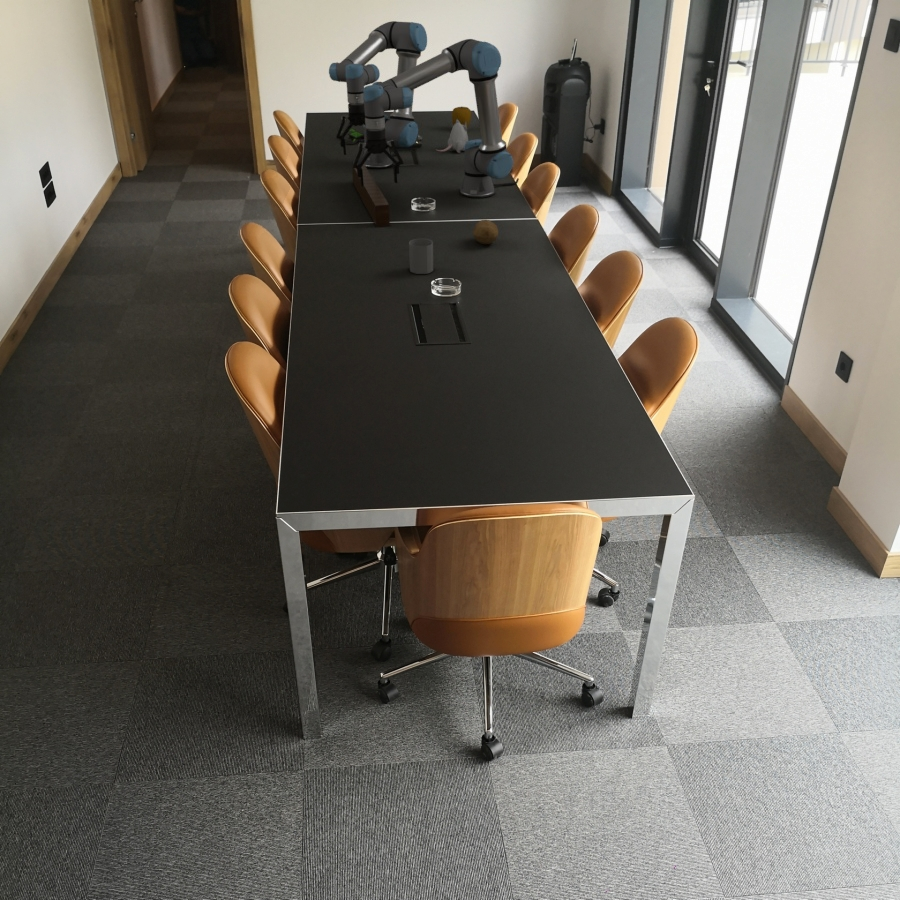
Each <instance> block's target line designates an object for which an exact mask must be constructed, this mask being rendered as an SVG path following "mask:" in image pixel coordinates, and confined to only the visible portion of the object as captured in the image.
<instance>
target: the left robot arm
mask: <svg viewBox="0 0 900 900" xmlns="http://www.w3.org/2000/svg"><path fill="white" fill-rule="evenodd" d="M427 46H428V34H427V31H426V28H425V27H424V25H423V24H422V23H419V22H413V21H396V20H393V21H387V22H385V23H382V24H380V25H379V26H377V27H376V28H374V29H373V30H372V31H371V32H370V33H369V34H368V37H367V38H366V40H364V41H363V42H362V43H361V44H359V46H357V47H356V48H355V49H354V50H353V51H351V52H350V53H349V54H348V55H347V56H346V57H345V58H344V59H343V60H341V62H338V61H337V62H332V63H331V64H330V65H329V68H328V75H329V78H330V80H332V81H334V82H338V83H346V95H347V96H346V97H347V103H348V104H347V109H348V111H347V113H348V114H347V115H344V114H342V115H341V119H340V123H339V125H338V128H337V131H336V134H335V138H336V139H338V140H339V139H340V140H339V142H340V147H341V148H342V151H343V156H347V148H346V147H347V146H346V143H345V141H346V139H345V137H346V136H347V135H348V134H349V132H350V131H349V130H350V129H352V127H358V126H360V127H361V126H363V134H364V139H363V140H364V142H363V143H366V141H367V139H366V130H367V128H366V124H365V109H364V100H363V98H364V97H363V93H364V88H365V87H366V86H369V85H372V84H373V83H375V82H378V80H379V78H380V77H381V76H380V69H379V67H378V66H377V65H376V64H374V63H369V62H370V61H371V60H372V59H373V58H374V57H376V55H377V54H378V53H383V52H385V51H386V50H393V49H394V50H395V54H396V55H397V58H398V61H397V71H396V76H397V75H399V74H401V73H403V72H405V71H407V70H409V69H411V68H413V67H415V66H417V65H418V64H417V63H418V59H419V58H421V56H422V55H421V54H422V52H424V51H425V50H426V49H427ZM411 92H412V95H413V96H414V93H415V89H414V90H412V91H411ZM413 105H414V103H413V104H412V106H411V107H409V108H405V109H398V110H393V112H392V113H390V115H389V117H388V115H387V114H384V115H385V117H384V118H385V128H384V129H385V133H386V141H390V140H393V141H394V144H395V147H400V148H410V147H412V146H413V145H414V144H415V143H416V141H417V138H418V134H419V127H418V123H417V122H415V117H414V115H413ZM347 121H349V122H348V124H347V125H346V127H345V128H344V126H345V123H346V122H347ZM343 128H344V131H343ZM341 131H343V132H341ZM385 149H386V150H387V151H388V152H389V153H390V154H391V152H390V151H391V150H390V146H389V145H388V144H387V146H386V148H385ZM367 150H368V148H367V147H366V146H365V147H364V151H363V155H362V157H363V156H364V155H365V153H366V151H367ZM391 156H392V157H394V156H396V155H395V153H394V152H393V153H392V154H391ZM364 165H365V166H366V168H367V169H371V170H381V169H387V168H390V167H393V165H394V163H393V161H392V160H391V159H390V158H389V157H388V156H387V155H386V154H385V153H384V152H382V153H381V154H378V153H377V154H371V155H370V156H369V157H368V159H367V160H366V161H365V163H364Z"/></svg>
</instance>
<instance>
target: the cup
mask: <svg viewBox="0 0 900 900" xmlns="http://www.w3.org/2000/svg"><path fill="white" fill-rule="evenodd" d="M408 253H409V272H411V273H412V274H416V275H426V274H430V273H432V272H434V241H433V240H431V239H428V238H422V237H421V238H420V237H419V238H414V239H411V240H410V241H409V242H408Z"/></svg>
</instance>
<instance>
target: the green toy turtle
mask: <svg viewBox="0 0 900 900" xmlns="http://www.w3.org/2000/svg"><path fill="white" fill-rule="evenodd" d="M344 130H345V129H344ZM344 130H343V129H342V131H341V133H343V131H344ZM348 132H349V133H347V136H348V137H347V139H348V140H350V141H346V140H345V145H346V144H347V145H355V144H356V143H357V142H358V143H359V142H362V141H363V140H364V133H362V132H359V131H357V130H356V129H355V128H350V130H349V131H348ZM338 141H340V139H338Z"/></svg>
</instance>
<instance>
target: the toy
mask: <svg viewBox="0 0 900 900" xmlns="http://www.w3.org/2000/svg"><path fill="white" fill-rule="evenodd" d="M467 141H469V136H468V128H467V124H466V123H465V126H464V125H461V124H460V122H459V121H458V120H456V124H454V125H452V128H451V131H450V134H449V138H448V139H447V147H446V148H444V149H436V151H437V152H442V153H444V152H446V151H449V152H452V151H456V153H458V154H461V152H462V151H463V152H465V151H464V149H465V143H466V142H467Z"/></svg>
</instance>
